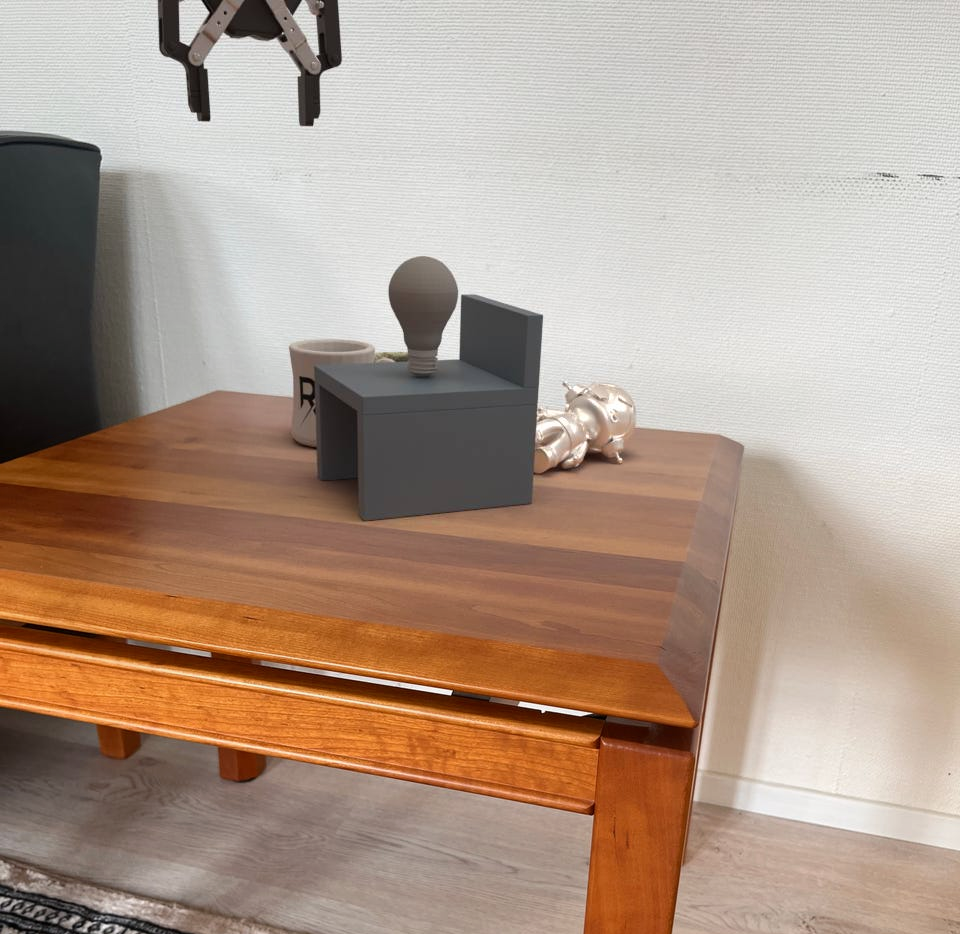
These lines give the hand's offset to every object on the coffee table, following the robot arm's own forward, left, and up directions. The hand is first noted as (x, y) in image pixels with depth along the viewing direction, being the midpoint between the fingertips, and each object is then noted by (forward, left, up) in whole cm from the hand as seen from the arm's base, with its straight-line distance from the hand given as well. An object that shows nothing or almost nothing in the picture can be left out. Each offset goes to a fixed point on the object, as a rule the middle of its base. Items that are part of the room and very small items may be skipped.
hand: (256, 123), depth 84 cm
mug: (+11, +11, -30) cm, 34 cm away
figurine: (+31, -3, -30) cm, 43 cm away
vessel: (+22, +24, -30) cm, 44 cm away
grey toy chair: (+12, -8, -30) cm, 33 cm away
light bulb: (+12, -8, -20) cm, 24 cm away
